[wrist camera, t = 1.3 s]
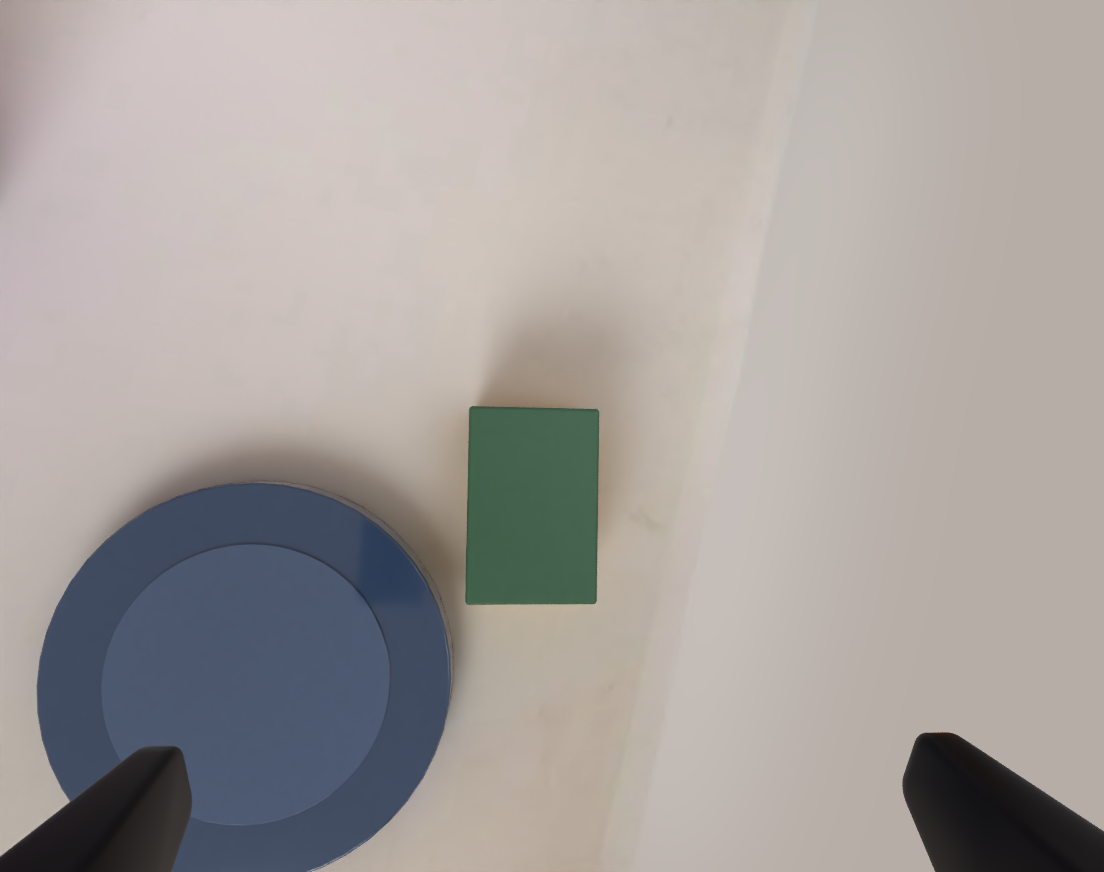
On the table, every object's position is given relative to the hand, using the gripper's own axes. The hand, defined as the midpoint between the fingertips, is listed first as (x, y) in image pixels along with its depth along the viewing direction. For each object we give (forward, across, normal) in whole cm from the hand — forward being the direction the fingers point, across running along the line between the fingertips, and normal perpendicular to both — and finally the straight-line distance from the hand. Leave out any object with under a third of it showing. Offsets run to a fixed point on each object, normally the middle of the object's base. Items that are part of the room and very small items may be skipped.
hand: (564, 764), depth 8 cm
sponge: (+15, 0, +4) cm, 15 cm away
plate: (+12, +9, +9) cm, 18 cm away
